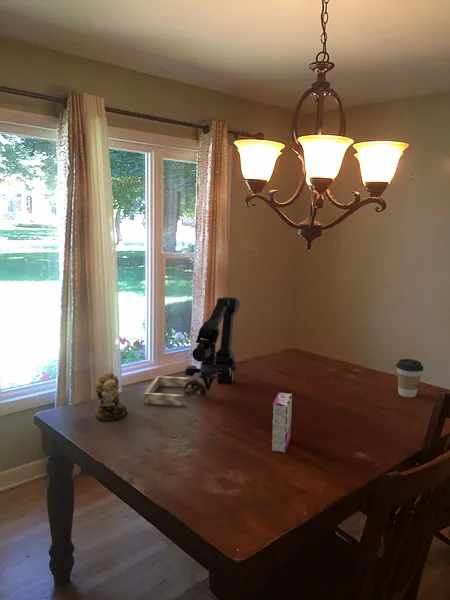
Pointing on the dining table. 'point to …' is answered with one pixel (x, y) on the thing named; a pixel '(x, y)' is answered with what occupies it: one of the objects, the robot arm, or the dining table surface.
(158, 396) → the birch bracket
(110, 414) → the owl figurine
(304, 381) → the dining table surface
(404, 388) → the coffee cup
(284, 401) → the candy bar box
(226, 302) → the robot arm
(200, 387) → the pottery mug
